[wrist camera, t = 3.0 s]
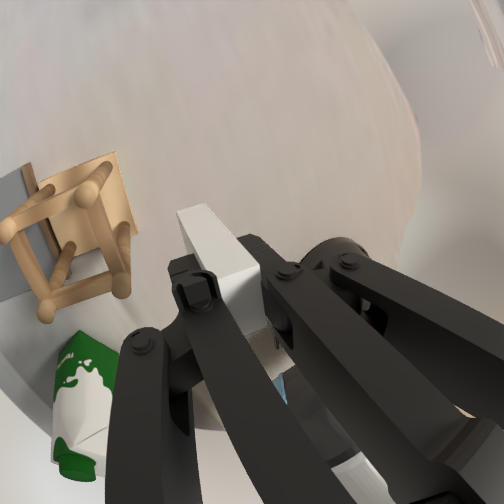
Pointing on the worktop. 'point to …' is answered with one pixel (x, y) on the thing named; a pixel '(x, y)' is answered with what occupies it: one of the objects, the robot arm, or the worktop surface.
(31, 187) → the strip
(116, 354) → the milk carton
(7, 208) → the mat
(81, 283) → the stool
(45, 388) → the worktop surface
